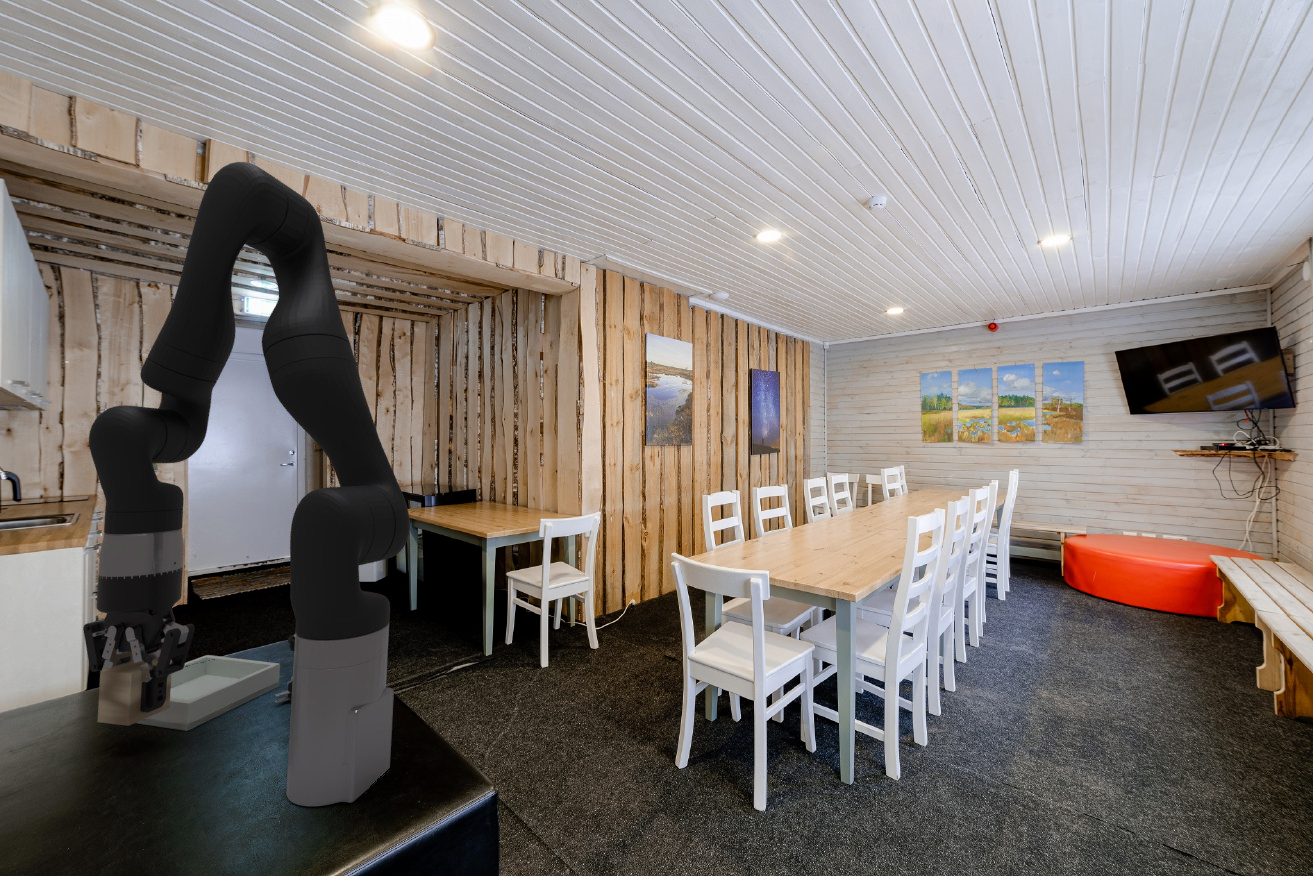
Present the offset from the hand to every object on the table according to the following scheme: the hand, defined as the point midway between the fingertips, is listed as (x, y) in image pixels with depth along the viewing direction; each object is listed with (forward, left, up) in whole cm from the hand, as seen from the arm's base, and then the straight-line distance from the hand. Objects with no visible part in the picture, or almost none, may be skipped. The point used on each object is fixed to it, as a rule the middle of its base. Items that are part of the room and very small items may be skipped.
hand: (134, 707), depth 65 cm
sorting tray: (+4, -11, -5) cm, 13 cm away
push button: (-9, -16, -5) cm, 19 cm away
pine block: (0, 0, -1) cm, 1 cm away
